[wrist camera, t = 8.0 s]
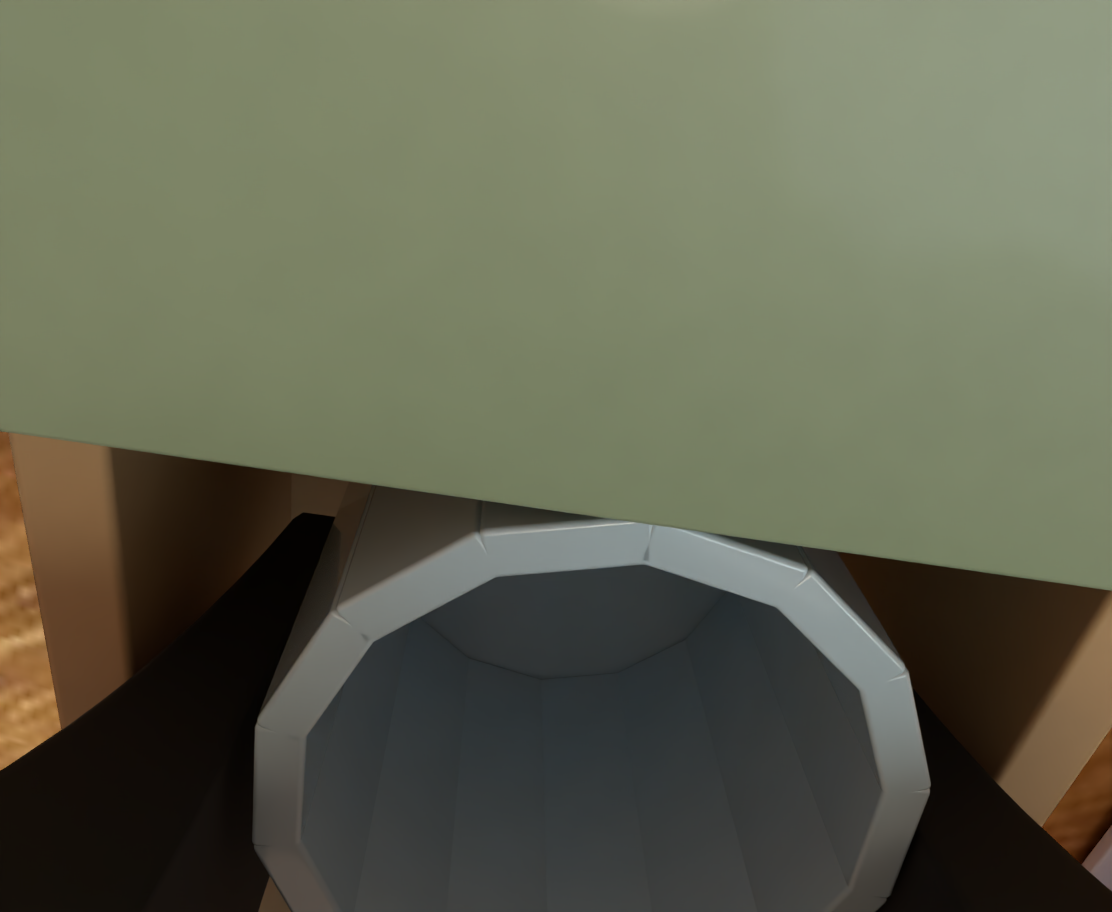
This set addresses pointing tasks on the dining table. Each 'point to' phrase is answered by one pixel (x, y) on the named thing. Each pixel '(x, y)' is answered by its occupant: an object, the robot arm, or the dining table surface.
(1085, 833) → the dining table surface
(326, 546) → the cup
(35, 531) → the drawer
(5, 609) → the dining table surface
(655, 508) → the cabinet
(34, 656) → the dining table surface
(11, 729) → the dining table surface
